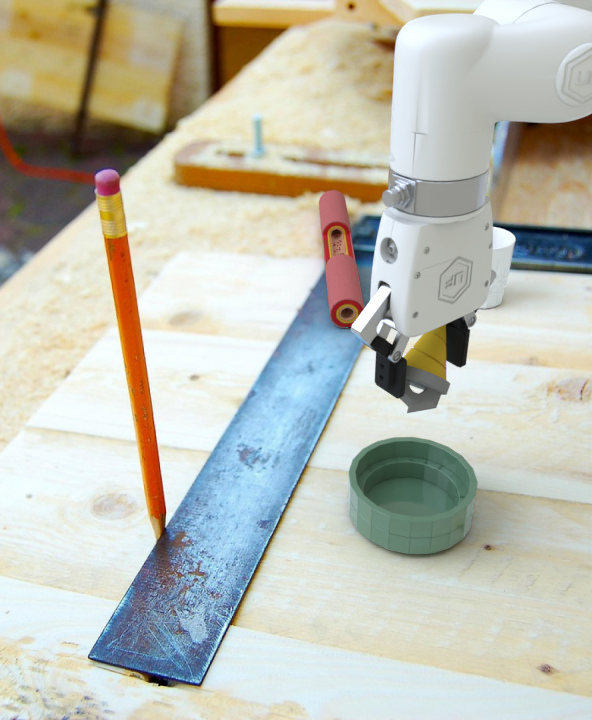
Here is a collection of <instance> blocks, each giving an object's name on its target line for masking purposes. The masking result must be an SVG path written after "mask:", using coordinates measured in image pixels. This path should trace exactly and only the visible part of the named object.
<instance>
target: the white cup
mask: <svg viewBox="0 0 592 720" xmlns="http://www.w3.org/2000/svg"><path fill="white" fill-rule="evenodd" d="M516 241H517V239H516V236H515V234H514V233H512V232H511V231H509V230H506V229H505V228H501V227H496V226H493V252H492V267H491V269H492V270H493V271H495V272H496V278H495V280H494V281H493V283H492V285H491V286H490V288H489V293H488V297H487V300H486V302H485V303H484V304H483V305H482V306H481V307H480V308H479V309H480V310H486V309H492V308H497V306H499V305H501V304H502V301H503V299H504V293H505V289H506V286H507V283H508V278H509V274H510V269H511V265H512V261H513V255H514V250H515V244H516ZM479 309H478V310H479Z"/></svg>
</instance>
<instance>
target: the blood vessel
mask: <svg viewBox="0 0 592 720" xmlns="http://www.w3.org/2000/svg"><path fill="white" fill-rule="evenodd" d="M318 210H319V219H320V220H319V221H320V230H321V240H322V251H323V252H322V253H323V261H324V262H323V263H324V271H325V282H326V292H327V293H326V294H327V302H328V312H329V313H328V314H329V318H330V321H331V322H332V324H333V325H335V326H337V328H340V329H341V328H342V329H347V328H346V327H351V326H352V324H353V323H354V322H355V320H356V319H357V318H358V316H359V315H360V314H361V312H362V311H363V310H364V308H365V304H364V303H365V302H364V297H363V292H362V287H361V281H360V276H359V269H358V264H357V261H356V256H355V249H354V244H353V239H352V229H351V224H350V219H349V212H348V206H347V201H346V197H345V195H344V194H343V193H342V192H340V191H339V190H335V189H334V190H333V189H332V190H326V191H325V192H324V193H322V195H320V197H319V200H318ZM344 327H345V328H344Z"/></svg>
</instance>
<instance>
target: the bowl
mask: <svg viewBox="0 0 592 720" xmlns="http://www.w3.org/2000/svg"><path fill="white" fill-rule="evenodd" d="M347 479H348V480H347V481H348V482H347V507H348V515H349V518H350V520H351V522H352V523H353V525H354V526H355V528H356V530H357V531H359V532H360V534H362V535H363V536H364V537H365V538H366V539H367V540H369V542H372V543H373V544H376V545H378V546H380V547H381V548H384V549H386V550H389V551H392V552H396V553H402V554H406V555H429V554H434V553H438V552H442V551H445V550H448V549H450V548H451V547H453V546H456V544H458V543H459V542H461V541H462V540H464V538H465V537H466V535H467V534H468V532H469V531H470V530H471V528H472V523H473V516H474V509H475V503H476V497H477V496H476V494H477V491H478V478H477V476H476V472H475V470H474V468H473V467H472V465H471V464H470V463H469V462H468V460H466V458H465V457H464V456H463V455H461V453H458V452H457V451H456V450H454V449H453V448H451V447H450V446H448V445H445V444H442V443H440V442H437V441H435V440H431V439H427V438H421V437H415V436H393V437H389V438H384V439H381V440H377V441H375V442H373V443H371V444H369V445H367V446H365V447H363V448H362V449H361V450H360V451H359V452H358V453H357V454H356V455H355V456H354V457H353V459H352V460H351V464H350V466H349V469H348V476H347Z"/></svg>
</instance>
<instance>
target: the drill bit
mask: <svg viewBox="0 0 592 720" xmlns="http://www.w3.org/2000/svg"><path fill="white" fill-rule="evenodd" d="M402 357H403V358H405V359H406V360H407V370H406V383H405V394H404V396H403V397H401V398H399V399H400V401H401V402H402V403H404V404H405V406H407V411H406V414H411V413H418V412H422V411H427V410H433V409H437V408H438V405H439V402H440V399H441V397H442V396H447V395H448V393H449V389H450V387H451V383H450V381H448V380H447V361H446V324H445V325H443V326H441V327H438V328H436V329H434V330H432V331H430V332H427V333H425V334H423V335H420V338H419V339H418V340H417V341H416V342H415V343H414V344H413V345H412V347H411V348H410V349H409V350H408V351H407V352H406V354H405V355H403V356H402ZM411 387H413V388H417V389H419V390H422V391H421V392H415V391H414V390H412V388H411Z"/></svg>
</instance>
